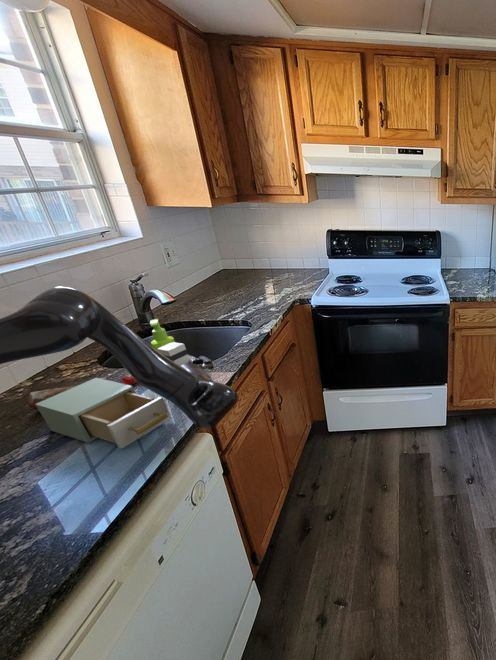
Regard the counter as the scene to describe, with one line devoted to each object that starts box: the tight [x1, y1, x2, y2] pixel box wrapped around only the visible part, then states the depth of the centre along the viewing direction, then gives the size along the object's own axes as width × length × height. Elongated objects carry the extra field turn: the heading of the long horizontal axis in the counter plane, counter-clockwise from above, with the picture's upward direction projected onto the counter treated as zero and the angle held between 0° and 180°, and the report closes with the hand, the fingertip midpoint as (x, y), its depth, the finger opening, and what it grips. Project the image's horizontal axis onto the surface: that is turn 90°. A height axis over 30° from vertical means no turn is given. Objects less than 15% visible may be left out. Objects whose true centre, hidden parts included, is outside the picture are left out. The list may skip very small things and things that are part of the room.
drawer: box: [78, 392, 172, 449], centre depth 94 cm, size 19×12×7 cm, turn 71°
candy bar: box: [120, 373, 138, 386], centre depth 122 cm, size 16×4×3 cm, turn 164°
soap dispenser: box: [149, 318, 176, 350], centre depth 117 cm, size 6×7×20 cm
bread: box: [27, 385, 77, 411], centre depth 108 cm, size 6×19×6 cm, turn 117°
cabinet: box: [35, 377, 137, 443], centre depth 98 cm, size 16×14×9 cm
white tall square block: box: [157, 341, 190, 366], centre depth 106 cm, size 5×5×17 cm
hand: (175, 362), depth 106 cm, fingers closed on white tall square block, 6 cm apart
